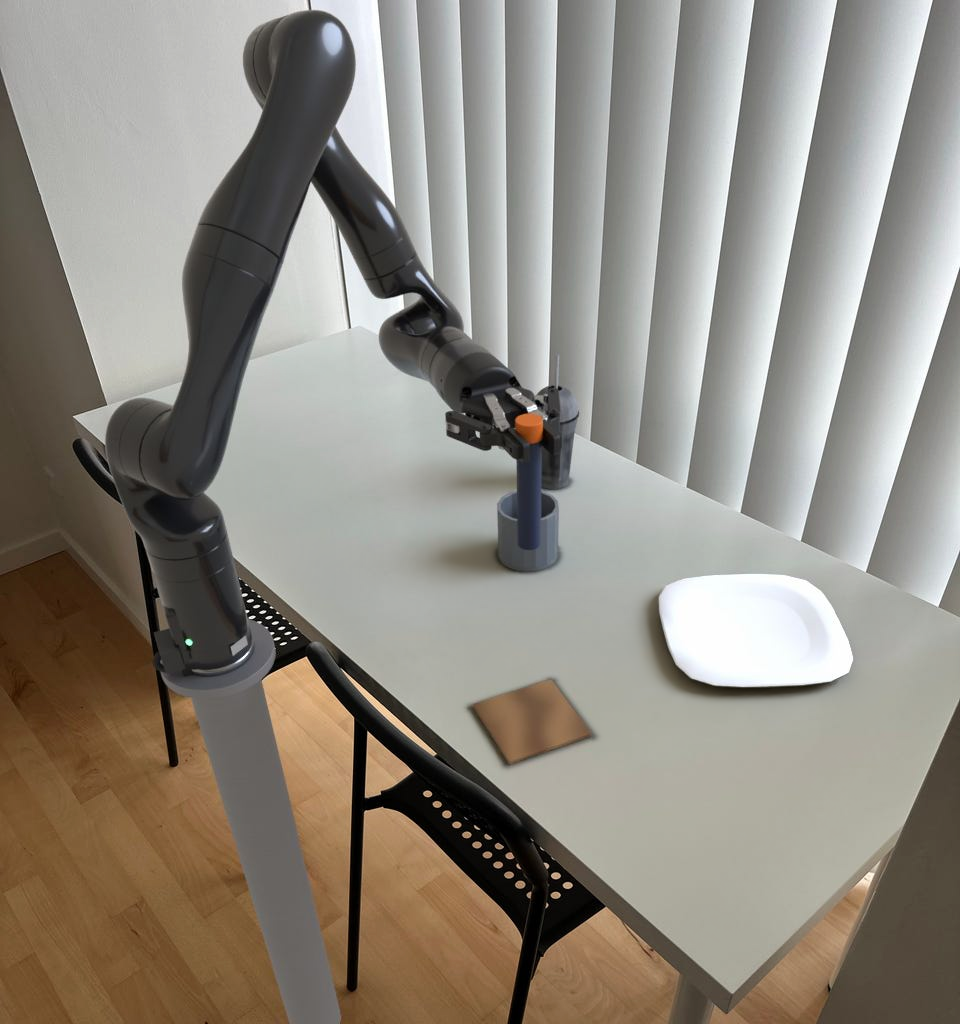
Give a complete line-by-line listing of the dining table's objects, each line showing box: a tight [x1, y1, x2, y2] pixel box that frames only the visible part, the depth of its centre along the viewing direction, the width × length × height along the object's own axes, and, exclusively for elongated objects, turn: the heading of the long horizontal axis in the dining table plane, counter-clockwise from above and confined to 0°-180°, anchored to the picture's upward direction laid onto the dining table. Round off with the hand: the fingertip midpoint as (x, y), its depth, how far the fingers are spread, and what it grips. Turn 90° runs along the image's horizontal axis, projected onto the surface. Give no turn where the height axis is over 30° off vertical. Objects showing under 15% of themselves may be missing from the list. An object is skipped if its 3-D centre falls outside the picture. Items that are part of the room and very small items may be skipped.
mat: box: [472, 678, 592, 765], centre depth 111 cm, size 10×10×1 cm
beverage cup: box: [535, 354, 580, 490], centre depth 145 cm, size 7×7×20 cm
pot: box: [496, 490, 560, 573], centre depth 134 cm, size 8×8×8 cm
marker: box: [514, 414, 543, 550], centre depth 103 cm, size 3×3×15 cm
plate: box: [658, 573, 854, 689], centre depth 120 cm, size 22×22×2 cm
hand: (541, 449), depth 98 cm, fingers closed on marker, 3 cm apart
